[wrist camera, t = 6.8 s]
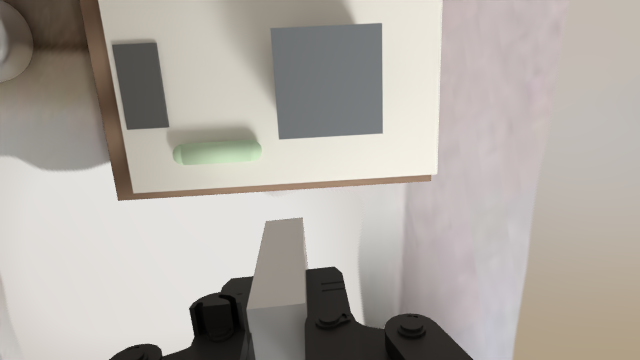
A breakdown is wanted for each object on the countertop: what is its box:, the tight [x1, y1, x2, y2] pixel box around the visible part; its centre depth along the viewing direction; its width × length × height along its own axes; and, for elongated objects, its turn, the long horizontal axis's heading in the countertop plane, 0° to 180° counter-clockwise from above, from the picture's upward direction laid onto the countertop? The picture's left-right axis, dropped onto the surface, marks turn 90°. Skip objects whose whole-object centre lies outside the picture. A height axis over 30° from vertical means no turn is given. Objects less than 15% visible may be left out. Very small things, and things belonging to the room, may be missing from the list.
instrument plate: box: [98, 0, 442, 193], centre depth 27 cm, size 16×24×9 cm, turn 93°
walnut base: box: [79, 0, 431, 201], centre depth 33 cm, size 18×26×3 cm
